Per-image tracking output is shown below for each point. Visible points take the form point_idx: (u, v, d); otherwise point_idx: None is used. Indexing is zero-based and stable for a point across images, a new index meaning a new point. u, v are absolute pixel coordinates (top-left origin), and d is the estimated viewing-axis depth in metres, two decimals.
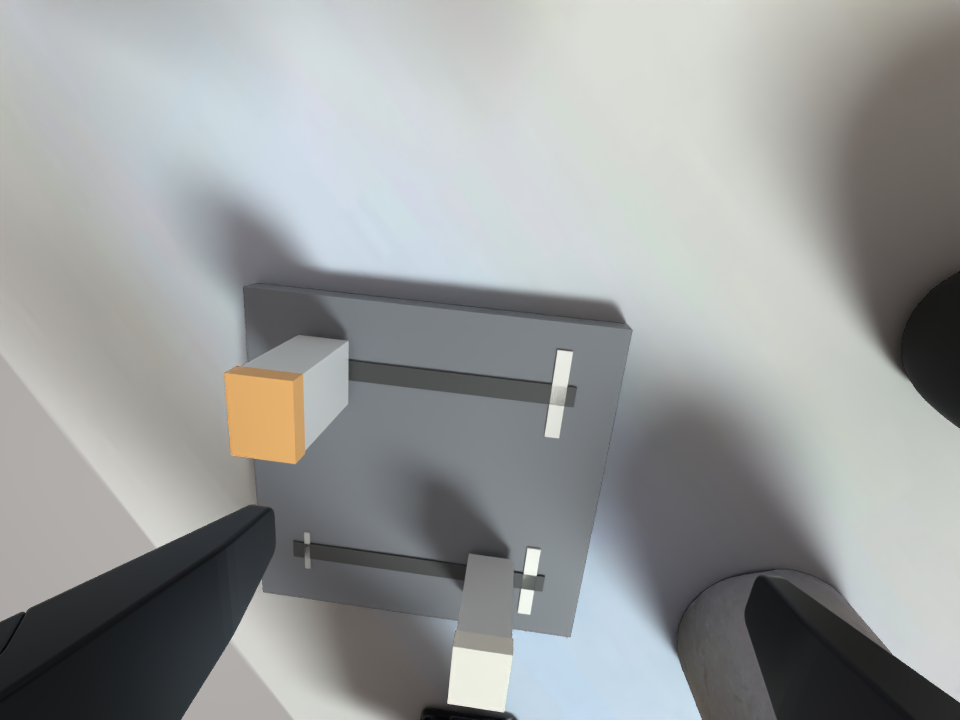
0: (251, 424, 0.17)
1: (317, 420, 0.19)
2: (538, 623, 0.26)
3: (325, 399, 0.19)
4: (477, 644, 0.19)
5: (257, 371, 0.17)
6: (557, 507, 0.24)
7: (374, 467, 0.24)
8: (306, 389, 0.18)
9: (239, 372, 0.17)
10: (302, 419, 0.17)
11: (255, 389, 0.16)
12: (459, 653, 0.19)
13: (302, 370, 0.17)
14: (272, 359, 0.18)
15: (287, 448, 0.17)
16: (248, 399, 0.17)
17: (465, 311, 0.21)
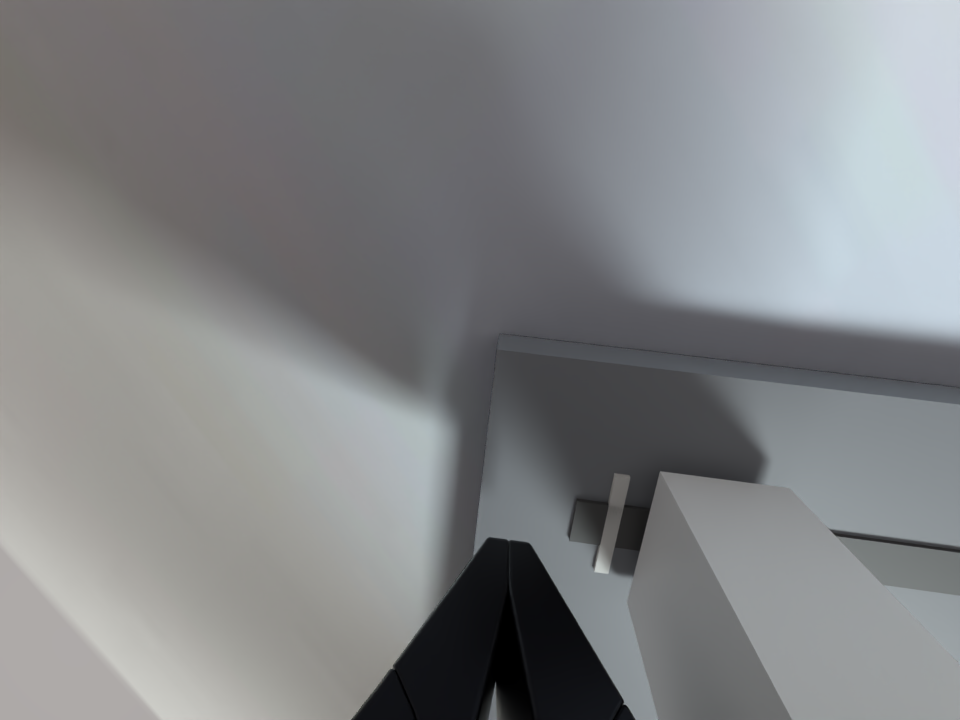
0: None
1: None
2: None
3: None
4: None
5: None
6: None
7: None
8: None
9: None
10: None
11: None
12: None
13: None
14: (804, 643, 0.05)
15: None
16: None
17: None
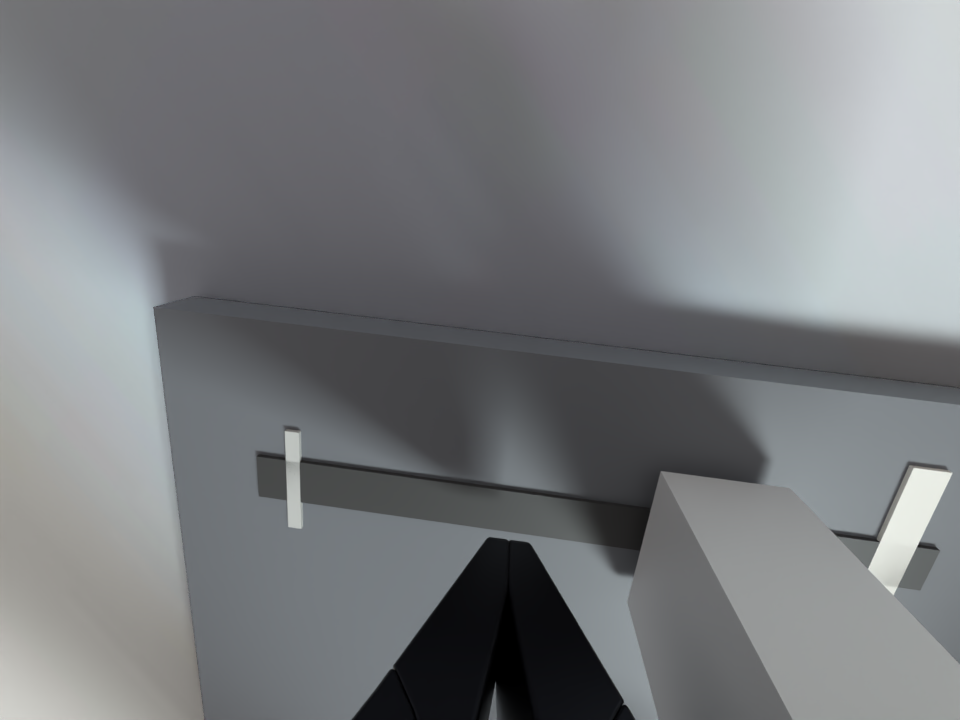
0: None
1: None
2: None
3: None
4: None
5: None
6: None
7: None
8: None
9: None
10: None
11: None
12: None
13: None
14: (804, 643, 0.05)
15: None
16: None
17: (690, 372, 0.09)
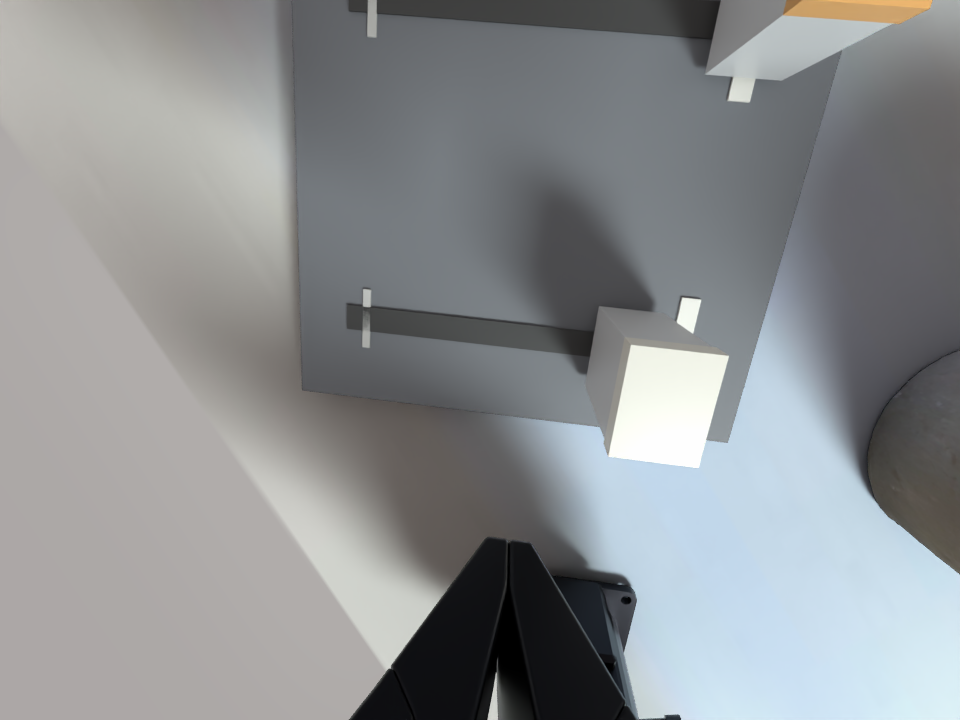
0: None
1: None
2: None
3: None
4: (666, 347, 0.12)
5: None
6: (732, 227, 0.17)
7: (469, 173, 0.17)
8: None
9: None
10: None
11: None
12: (640, 358, 0.12)
13: None
14: None
15: None
16: None
17: None
